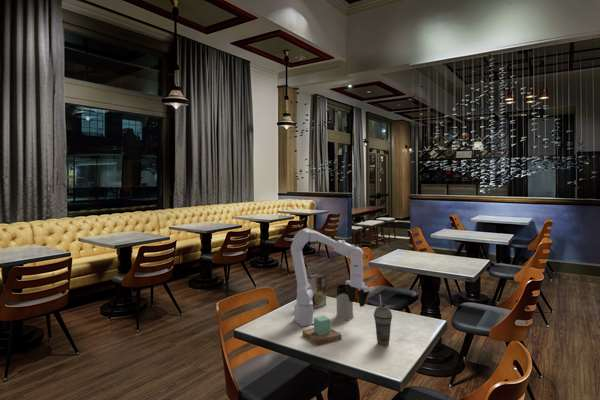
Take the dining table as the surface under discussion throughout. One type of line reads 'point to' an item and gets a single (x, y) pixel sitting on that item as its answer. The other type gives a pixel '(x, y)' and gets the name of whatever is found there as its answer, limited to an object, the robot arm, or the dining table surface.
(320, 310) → the dining table surface
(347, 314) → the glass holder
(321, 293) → the coffee box
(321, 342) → the walnut base
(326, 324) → the teal block
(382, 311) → the beverage cup
